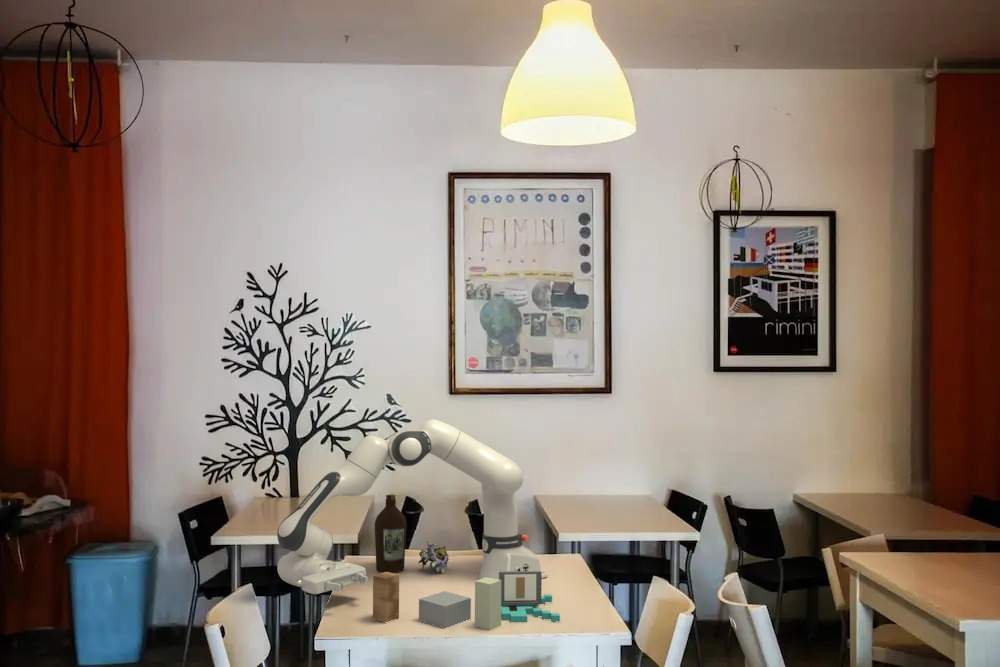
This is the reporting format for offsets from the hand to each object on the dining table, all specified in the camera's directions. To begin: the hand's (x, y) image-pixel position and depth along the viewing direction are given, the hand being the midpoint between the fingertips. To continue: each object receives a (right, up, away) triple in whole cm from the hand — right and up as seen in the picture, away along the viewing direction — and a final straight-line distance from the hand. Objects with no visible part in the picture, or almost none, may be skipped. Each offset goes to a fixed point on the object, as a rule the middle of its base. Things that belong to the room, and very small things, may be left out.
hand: (353, 583), depth 234 cm
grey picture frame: (+47, -6, +1) cm, 47 cm away
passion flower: (+19, -9, +43) cm, 48 cm away
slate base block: (+26, -8, -8) cm, 28 cm away
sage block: (+38, -8, -12) cm, 41 cm away
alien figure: (+47, -9, 0) cm, 48 cm away
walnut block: (+10, -7, -7) cm, 14 cm away
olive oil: (+4, -9, +44) cm, 45 cm away
